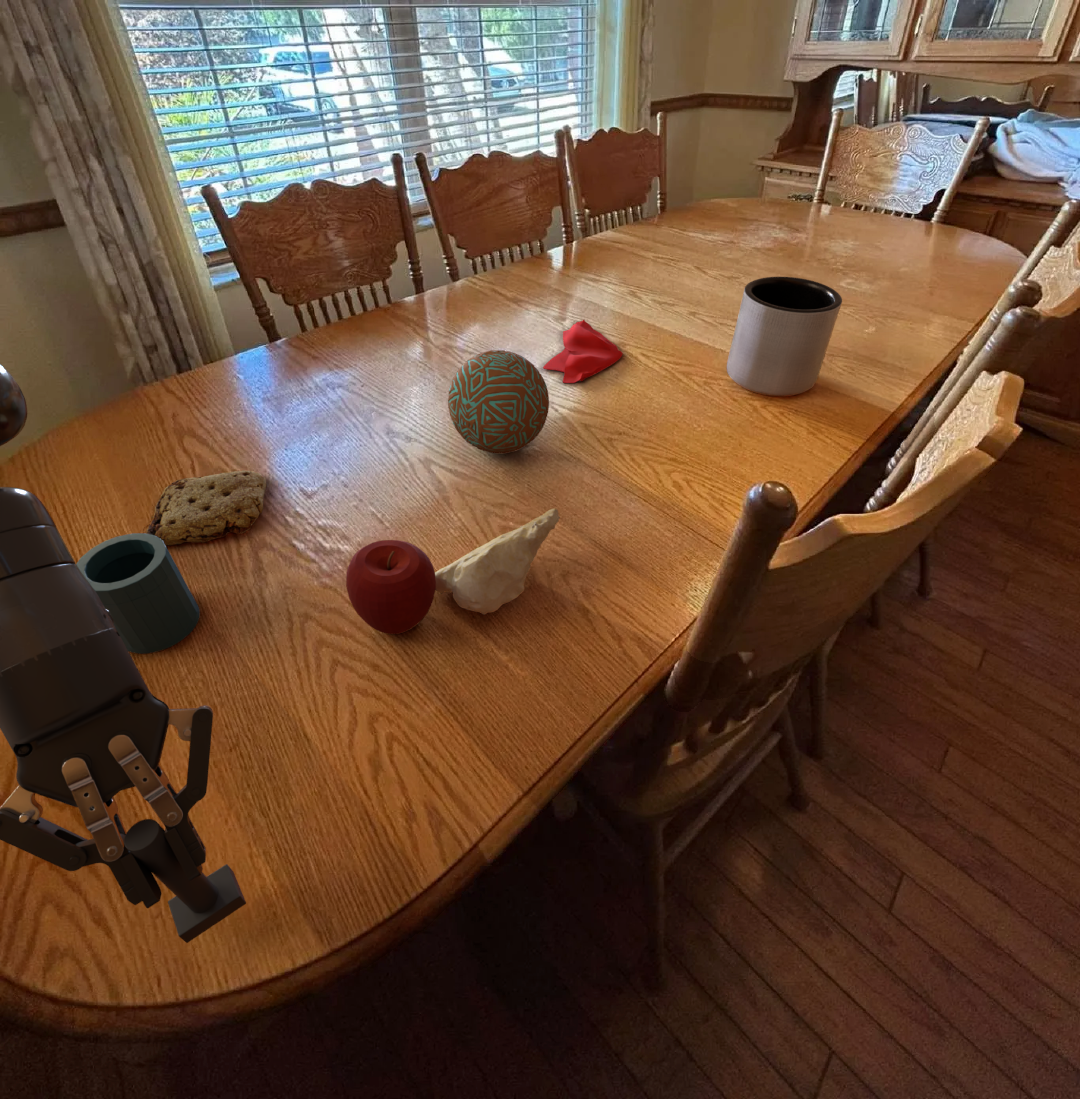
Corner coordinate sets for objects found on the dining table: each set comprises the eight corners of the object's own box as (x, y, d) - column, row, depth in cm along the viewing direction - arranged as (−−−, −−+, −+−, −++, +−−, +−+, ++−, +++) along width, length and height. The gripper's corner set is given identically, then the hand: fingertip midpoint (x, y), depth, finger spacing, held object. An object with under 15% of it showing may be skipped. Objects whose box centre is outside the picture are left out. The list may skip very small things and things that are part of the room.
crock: (127, 666, 67) (81, 604, 61) (109, 618, 72) (65, 555, 66) (210, 628, 71) (175, 565, 65) (187, 585, 76) (153, 522, 69)
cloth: (608, 389, 112) (609, 378, 111) (534, 378, 115) (534, 367, 113) (633, 330, 130) (634, 319, 129) (569, 322, 133) (569, 311, 132)
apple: (406, 664, 68) (392, 601, 61) (339, 630, 71) (318, 567, 65) (457, 606, 74) (449, 544, 67) (392, 578, 77) (379, 515, 71)
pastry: (303, 500, 88) (297, 483, 86) (194, 572, 78) (185, 555, 76) (224, 460, 95) (218, 443, 93) (114, 522, 85) (104, 505, 83)
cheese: (437, 649, 72) (539, 606, 64) (403, 594, 71) (502, 544, 63) (497, 592, 85) (587, 551, 77) (468, 546, 84) (557, 499, 76)
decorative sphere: (566, 438, 100) (570, 349, 90) (510, 485, 91) (508, 392, 81) (491, 410, 107) (487, 324, 96) (432, 452, 97) (420, 361, 87)
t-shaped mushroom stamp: (186, 943, 46) (108, 877, 38) (175, 908, 48) (97, 837, 39) (246, 903, 48) (185, 831, 40) (233, 871, 50) (171, 795, 41)
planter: (807, 361, 121) (833, 278, 110) (822, 403, 109) (853, 315, 98) (722, 355, 122) (739, 272, 112) (727, 396, 111) (748, 308, 100)
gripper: (-120, 715, 33) (39, 993, 35) (158, 598, 40) (284, 836, 41) (-63, 704, 40) (69, 937, 41) (167, 605, 46) (275, 810, 48)
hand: (176, 886), depth 41 cm, fingers closed on t-shaped mushroom stamp, 2 cm apart
